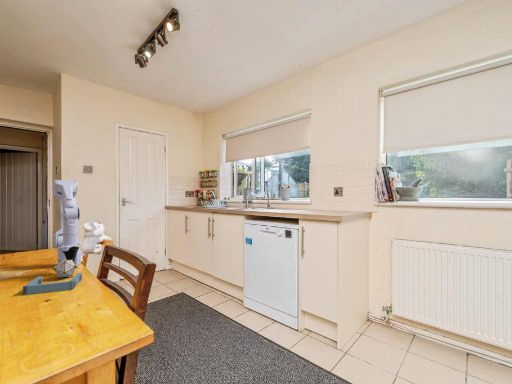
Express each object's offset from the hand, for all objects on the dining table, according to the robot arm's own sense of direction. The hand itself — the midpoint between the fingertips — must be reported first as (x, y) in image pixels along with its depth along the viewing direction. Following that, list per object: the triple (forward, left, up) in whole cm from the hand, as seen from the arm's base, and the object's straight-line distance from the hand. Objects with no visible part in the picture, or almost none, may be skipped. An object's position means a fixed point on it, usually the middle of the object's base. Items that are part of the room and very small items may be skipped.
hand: (70, 263), depth 115 cm
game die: (0, +6, -5) cm, 8 cm away
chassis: (0, +17, -4) cm, 18 cm away
